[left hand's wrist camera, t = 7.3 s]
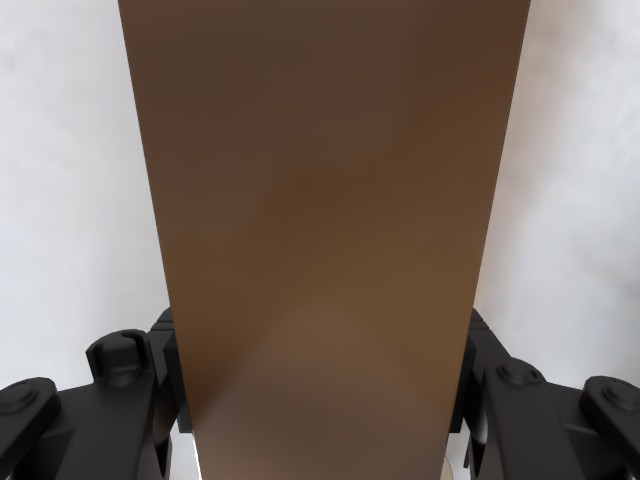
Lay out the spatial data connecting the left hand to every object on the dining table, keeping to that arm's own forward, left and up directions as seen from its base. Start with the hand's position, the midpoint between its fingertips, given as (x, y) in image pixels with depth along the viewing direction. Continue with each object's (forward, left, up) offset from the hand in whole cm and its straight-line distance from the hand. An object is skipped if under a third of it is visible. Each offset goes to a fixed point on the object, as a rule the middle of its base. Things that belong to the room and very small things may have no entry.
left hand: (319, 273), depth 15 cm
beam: (-2, -21, -1) cm, 21 cm away
